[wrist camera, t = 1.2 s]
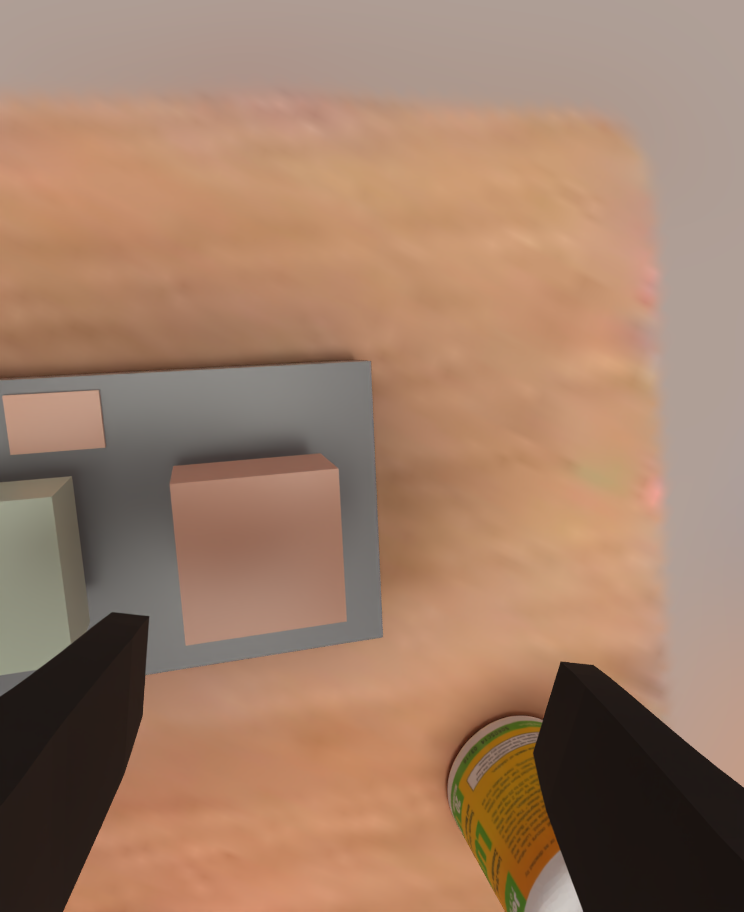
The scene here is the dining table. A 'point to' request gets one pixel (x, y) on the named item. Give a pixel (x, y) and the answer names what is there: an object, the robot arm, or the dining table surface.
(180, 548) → the terracotta key
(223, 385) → the grey key panel base
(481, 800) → the supplement bottle
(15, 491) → the sage key
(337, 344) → the dining table surface
